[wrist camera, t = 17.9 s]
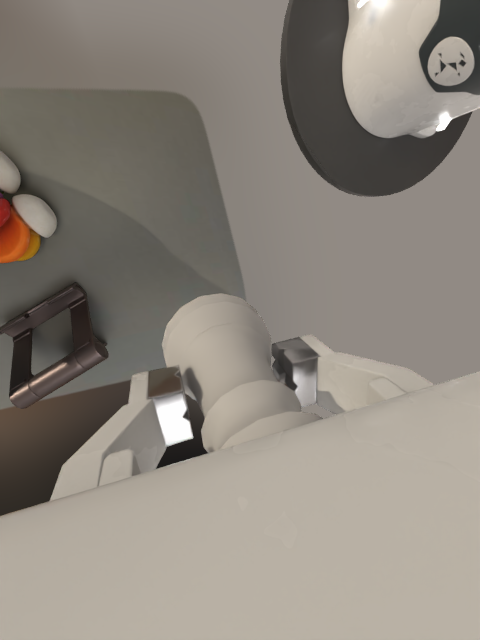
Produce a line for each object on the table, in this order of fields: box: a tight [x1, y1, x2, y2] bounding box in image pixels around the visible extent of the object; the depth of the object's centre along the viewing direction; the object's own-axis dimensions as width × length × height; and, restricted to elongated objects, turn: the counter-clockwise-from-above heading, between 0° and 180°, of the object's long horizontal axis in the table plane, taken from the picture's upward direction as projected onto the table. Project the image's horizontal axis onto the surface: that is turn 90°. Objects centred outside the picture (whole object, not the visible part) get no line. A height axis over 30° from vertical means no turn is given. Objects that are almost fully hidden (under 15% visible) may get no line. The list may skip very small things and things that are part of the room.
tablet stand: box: [0, 283, 108, 409], centre depth 28 cm, size 9×8×8 cm
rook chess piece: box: [162, 293, 323, 453], centre depth 9 cm, size 4×4×8 cm
